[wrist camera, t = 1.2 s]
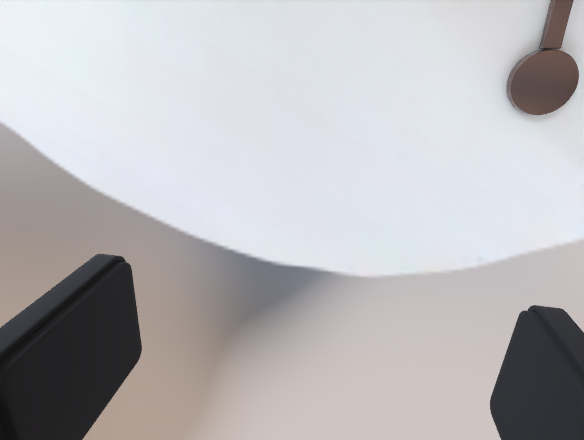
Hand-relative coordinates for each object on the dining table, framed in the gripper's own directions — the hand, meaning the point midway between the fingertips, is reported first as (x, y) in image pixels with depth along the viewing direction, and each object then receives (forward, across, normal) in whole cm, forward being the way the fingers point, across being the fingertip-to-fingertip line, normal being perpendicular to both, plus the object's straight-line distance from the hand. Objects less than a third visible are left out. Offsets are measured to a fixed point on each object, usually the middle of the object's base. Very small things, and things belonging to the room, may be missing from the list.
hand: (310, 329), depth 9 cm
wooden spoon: (+28, -15, -11) cm, 33 cm away
